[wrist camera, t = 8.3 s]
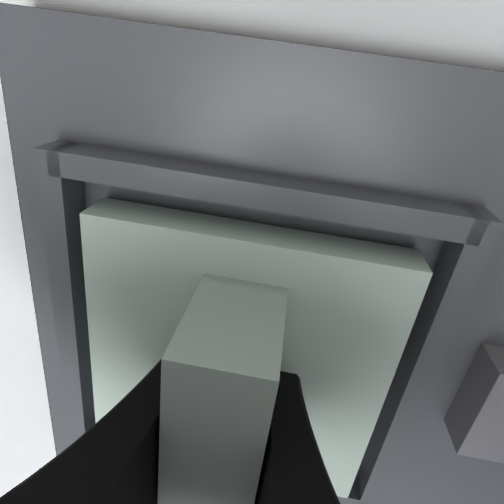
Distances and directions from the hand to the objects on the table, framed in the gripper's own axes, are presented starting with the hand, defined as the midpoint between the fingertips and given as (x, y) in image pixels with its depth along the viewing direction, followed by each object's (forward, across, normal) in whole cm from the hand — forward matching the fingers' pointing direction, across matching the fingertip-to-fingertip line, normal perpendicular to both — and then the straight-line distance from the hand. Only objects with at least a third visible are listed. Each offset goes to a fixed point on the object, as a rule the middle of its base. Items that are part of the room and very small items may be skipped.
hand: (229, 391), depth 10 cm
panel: (+3, -4, 0) cm, 5 cm away
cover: (+2, 0, 0) cm, 2 cm away
